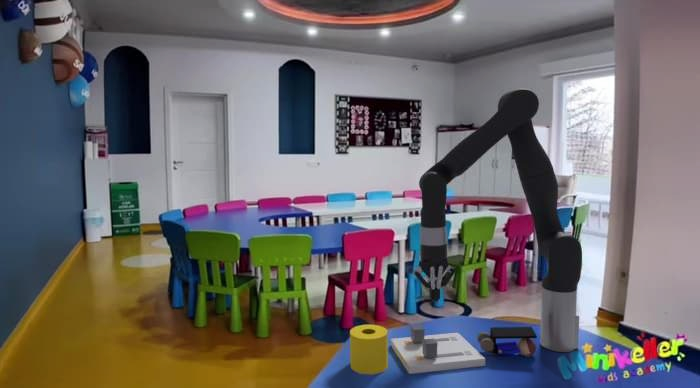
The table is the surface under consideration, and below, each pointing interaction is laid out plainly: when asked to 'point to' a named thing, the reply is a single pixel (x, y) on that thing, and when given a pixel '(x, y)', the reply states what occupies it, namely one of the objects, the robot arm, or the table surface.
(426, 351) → the on handle
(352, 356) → the tape roll
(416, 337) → the handle
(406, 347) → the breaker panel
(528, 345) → the black toy car
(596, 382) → the table surface
